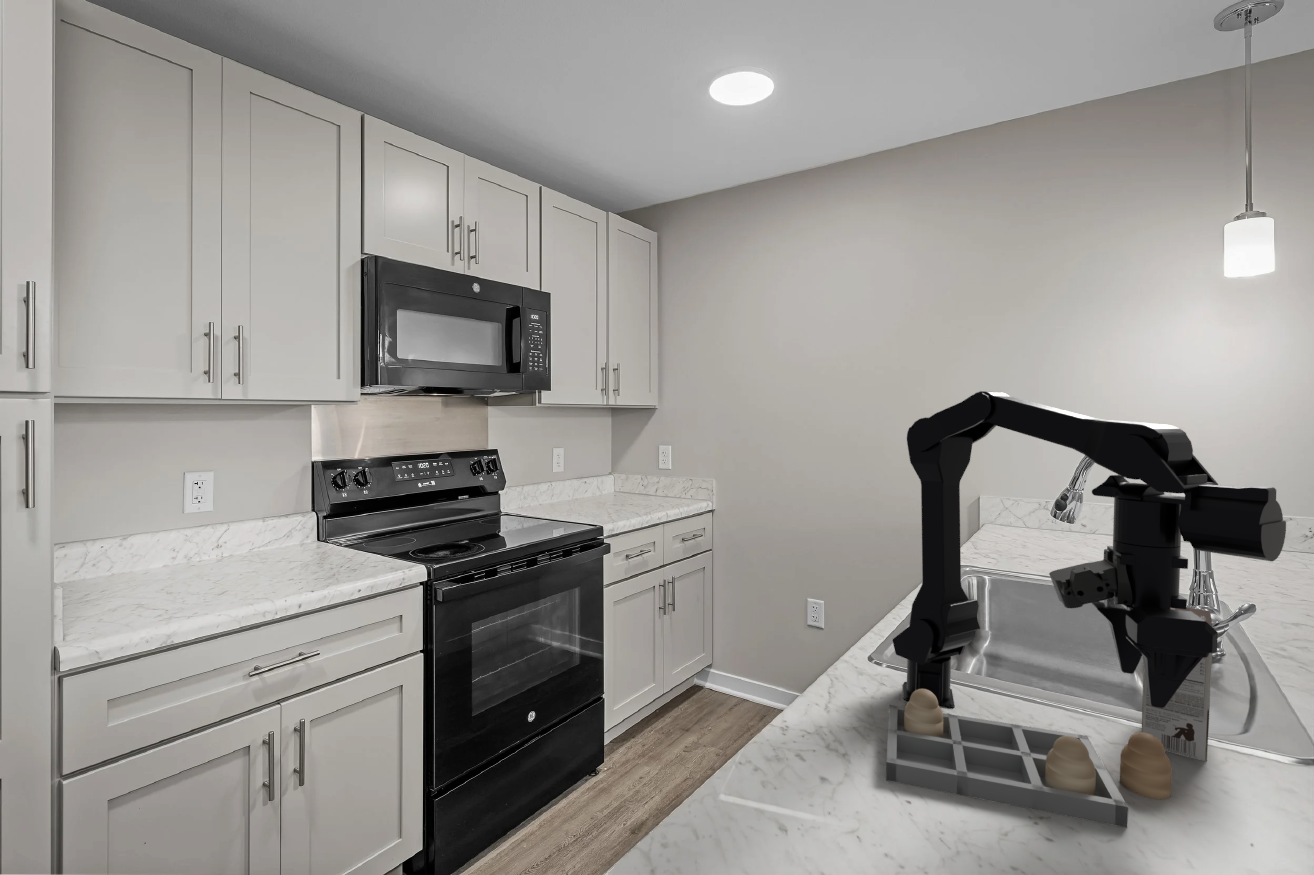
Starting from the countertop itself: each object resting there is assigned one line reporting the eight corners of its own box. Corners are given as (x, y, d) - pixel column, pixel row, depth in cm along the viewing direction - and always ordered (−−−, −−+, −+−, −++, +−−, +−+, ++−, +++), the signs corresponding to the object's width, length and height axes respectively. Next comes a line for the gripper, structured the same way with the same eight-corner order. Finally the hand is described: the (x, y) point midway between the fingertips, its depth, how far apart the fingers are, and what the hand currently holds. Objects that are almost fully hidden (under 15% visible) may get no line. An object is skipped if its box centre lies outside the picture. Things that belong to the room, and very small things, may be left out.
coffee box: (1143, 720, 86) (1147, 599, 85) (1206, 736, 82) (1211, 609, 81) (1138, 747, 79) (1143, 616, 78) (1208, 765, 75) (1213, 627, 74)
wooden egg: (1114, 775, 73) (1116, 721, 72) (1161, 784, 71) (1163, 728, 71) (1126, 797, 69) (1128, 739, 68) (1177, 806, 67) (1179, 747, 67)
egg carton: (889, 722, 85) (889, 704, 85) (1086, 755, 77) (1087, 735, 77) (886, 783, 71) (886, 761, 71) (1127, 831, 63) (1128, 806, 63)
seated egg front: (1041, 780, 71) (1042, 724, 71) (1088, 788, 69) (1090, 731, 69) (1049, 802, 67) (1051, 743, 66) (1100, 812, 65) (1102, 751, 65)
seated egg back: (903, 728, 82) (904, 680, 82) (941, 734, 81) (943, 685, 81) (903, 744, 78) (905, 694, 78) (943, 751, 77) (945, 700, 76)
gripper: (1041, 524, 80) (1037, 649, 81) (1079, 553, 63) (1075, 713, 63) (1149, 530, 76) (1145, 661, 77) (1223, 563, 59) (1217, 733, 59)
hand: (1141, 688), depth 69 cm, fingers open, 9 cm apart
